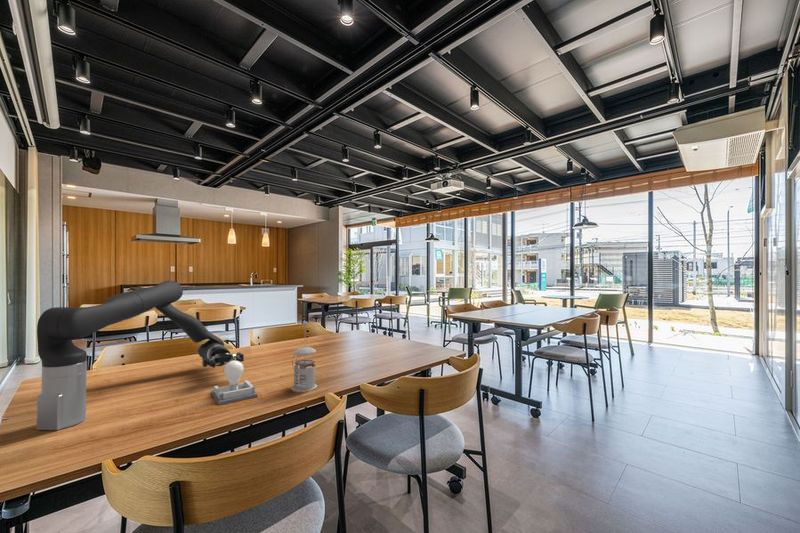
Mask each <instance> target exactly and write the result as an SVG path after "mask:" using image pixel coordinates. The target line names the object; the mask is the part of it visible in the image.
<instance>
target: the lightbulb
mask: <svg viewBox="0 0 800 533" xmlns="http://www.w3.org/2000/svg"><path fill="white" fill-rule="evenodd" d="M223 368H224V369H223V374H224V376H225V378H226V379H227V381H228V383H229V387H230V391H234V390H238V385H239V382H240V378H241V376H242V375H243V373H244V364H243V363H242V361H241V362H239V361H230V362H229V363H227V364H225V365H224V367H223Z"/></svg>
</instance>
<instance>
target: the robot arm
mask: <svg viewBox="0 0 800 533" xmlns="http://www.w3.org/2000/svg"><path fill="white" fill-rule="evenodd" d="M183 290H184V289H183V287H182V285H181V284H180V283H179V282H177V281H175V280H165V281H163V282H160V283H158V284H155V285H154V286H150V287H144V288H138V289H134V290H129V291H126V292H121V293H118V294H115V295H112V296H110V297H108V298H107V299H106V300H105V301H104V303H101V304H98V305H97V304H96V305H92V306H84V307H82V306H80V307H78V306H77V307H76V306H73V307H71V306H69V307H66V306H65V307H64V306H60V307H57V306H55V307H50V308H47V309H46V310H44V311H43V312H42V313H41V314H40V316H39V318H38V322H37V324H36V338H37V353H38V357H39V358H40V360H41V392H40V394H38V395H37V397H36V430H37V431H59V430H60V431H61V430H62V429H65V428H69V427H72V426H75V425H76V426H77V425H78V424H80V423H82V422H84V421H85V420H86V419H87V418H86V417H87V370H88V368H87V367H88V366H87V364H88V358H87V357H88V355H87V354H88V353H87V350H85V349H82V348H80V347H78V346H77V345H75V343H73V341H74V340H79V339H84V338H85V337H86V338H87V337H89V336H91V335H92V334H94V333H96V332H99V331H100V330H102V329H104V328H106V327H109V326H111V325H115V324H118V323H121V322H123V321H127V320H129V319H132V318H135V317H138V316H140V315H142V314H144V313H147V312H148V311H150V310H153V309H154V308H155V309H156V310H157V311H159V312H160V313H161V314H163V315H164V316H165V318H168V319H169V320H170V321H172V322H173V323H174V324H175V325H177V326H178V327H179V328H180V329H181V330H182V331H183V332H184V333H185V334H186V335H187V337H189V338H190V340H191V341H192V342H193V343H195V344H197V343H200V342H203V341H205V340H207V341H205V342H204V343H203V344H201V345H200V346H199V347H198V349H197V354H198V356H199V357H200V358H201V365H202V367H203V368H206V367H210V368H212V369H215V368H216V367H223V366H226V364H227V363H229V362H230V361H239V362H241V363H242V362H244V361H245V359H244V358H245V355H244V354H243V353H242V352H240V351H238V352H236V354H235V353H231V352H230V350H229V349H228V348H227V347H226V346H225V342H224V340H223V339H221V338H220V337H218V336H216V335H215V334H213V333H211V332H210V331H209V330H208V329H207V328H206V326H205V325H204V324H203V323H202V322H201V321H200V320H199V319H198V318H196V317H194V316H193V315H190V314H188V313H185V312H183V311H181V310H180V309H178V308H177V307H175V306H173V304H174V303H176V302H177V301H179V300H180V299H181V298H182V296H183V292H184V291H183Z"/></svg>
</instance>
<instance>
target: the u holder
mask: <svg viewBox="0 0 800 533" xmlns="http://www.w3.org/2000/svg"><path fill="white" fill-rule="evenodd" d="M255 390H256V388H255V386H254V385H253V384H252V383H251V382H250V381H249V380H248V379H246V380H244V381H243V383H241V384H238V390H234V391H230V386H226V387H221V388H220V387H219V386H218V385H214V386H213V389H211V390H210V393H211V395H212V396H213V398H214V399H215V401H216V402H217V404H218V406H221V405H226V404H231V403H234V402H235V403H236V402H239V401H244V400H248V399H253V398H258V393H257V392H256V391H255Z"/></svg>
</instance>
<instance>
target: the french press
mask: <svg viewBox="0 0 800 533" xmlns="http://www.w3.org/2000/svg"><path fill="white" fill-rule="evenodd" d="M302 325H303V326H304V340H306V339H307V338H306V331H307V330H306V328H307V327H306V326H308V325H309V323H308V321H305V320H304V321H302ZM316 352H317V350H316V349H315V348H313V347H310V346H302V347H298V348H297V349H296V350H294V351H293V353H294V355H293V357H292V360H291V365H292V369H293V375H294V376H293V386H292V387H291V388H290V390H291V391H292V390H293V392H295V391H297V392H296V393H301V392H300V391H309V390H313V389H315V388H316V387H317V386H318V385H317V383H316V364H314V363H315V360H313V359H309V358H308V359H299V360H297V359H298V358H300V357H301V356H306V355H307V356H308V355H313V354H315V353H316ZM295 356H296V357H295ZM294 357H295V362H294ZM294 364H295V365H294ZM315 390H316V389H315ZM313 391H314V390H313ZM309 392H310V391H309Z"/></svg>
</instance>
